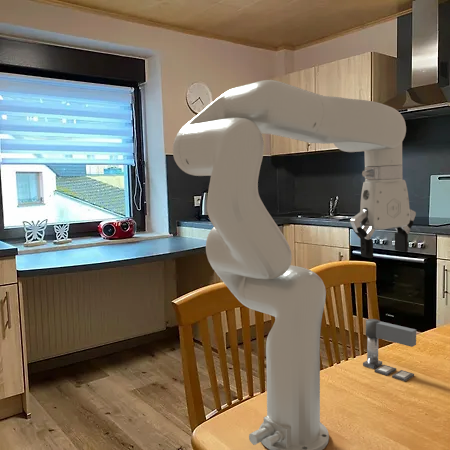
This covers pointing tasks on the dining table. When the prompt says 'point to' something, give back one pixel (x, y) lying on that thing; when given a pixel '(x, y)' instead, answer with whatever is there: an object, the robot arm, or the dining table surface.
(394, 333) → the swing bar
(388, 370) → the label plate
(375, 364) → the bar post
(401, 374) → the label plate
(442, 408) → the dining table surface
